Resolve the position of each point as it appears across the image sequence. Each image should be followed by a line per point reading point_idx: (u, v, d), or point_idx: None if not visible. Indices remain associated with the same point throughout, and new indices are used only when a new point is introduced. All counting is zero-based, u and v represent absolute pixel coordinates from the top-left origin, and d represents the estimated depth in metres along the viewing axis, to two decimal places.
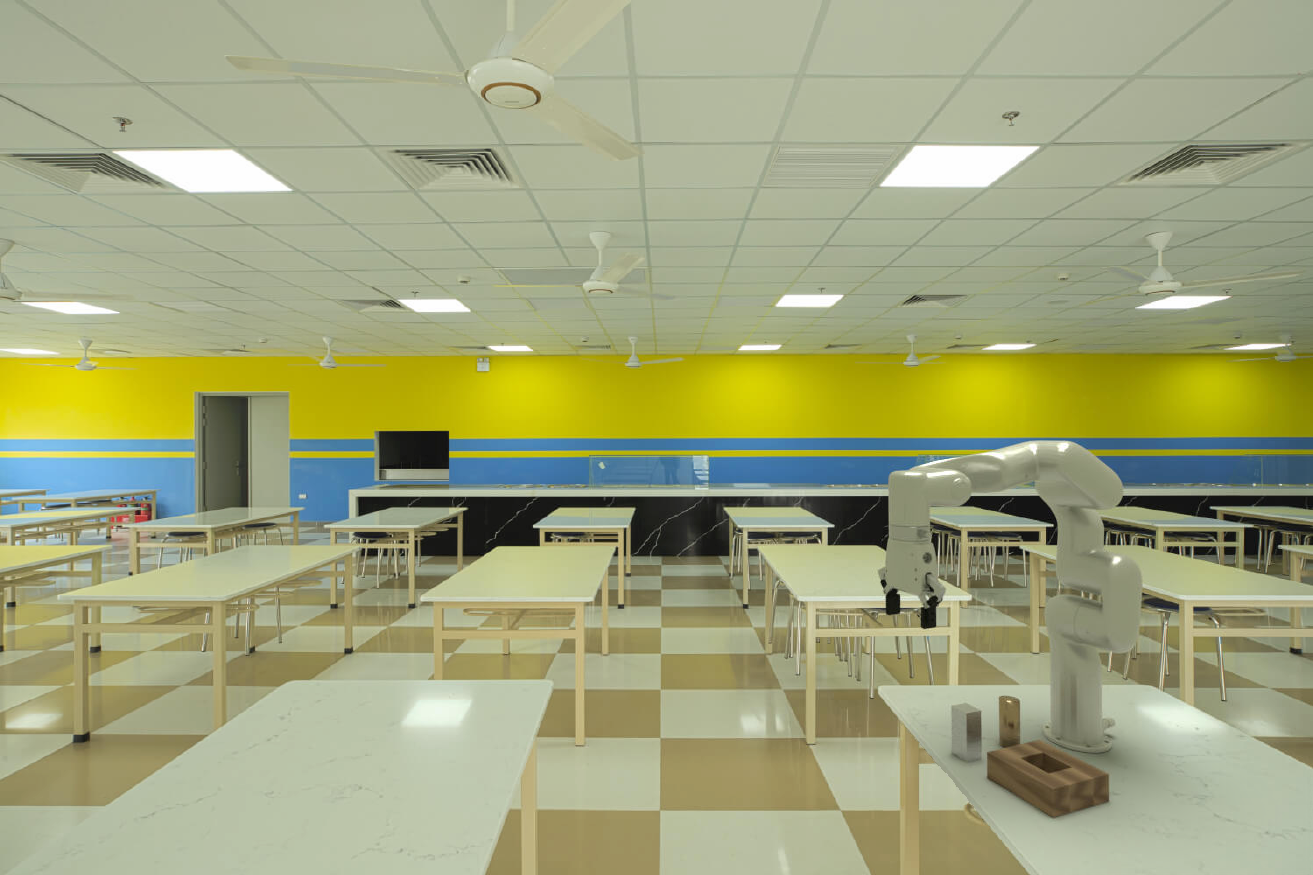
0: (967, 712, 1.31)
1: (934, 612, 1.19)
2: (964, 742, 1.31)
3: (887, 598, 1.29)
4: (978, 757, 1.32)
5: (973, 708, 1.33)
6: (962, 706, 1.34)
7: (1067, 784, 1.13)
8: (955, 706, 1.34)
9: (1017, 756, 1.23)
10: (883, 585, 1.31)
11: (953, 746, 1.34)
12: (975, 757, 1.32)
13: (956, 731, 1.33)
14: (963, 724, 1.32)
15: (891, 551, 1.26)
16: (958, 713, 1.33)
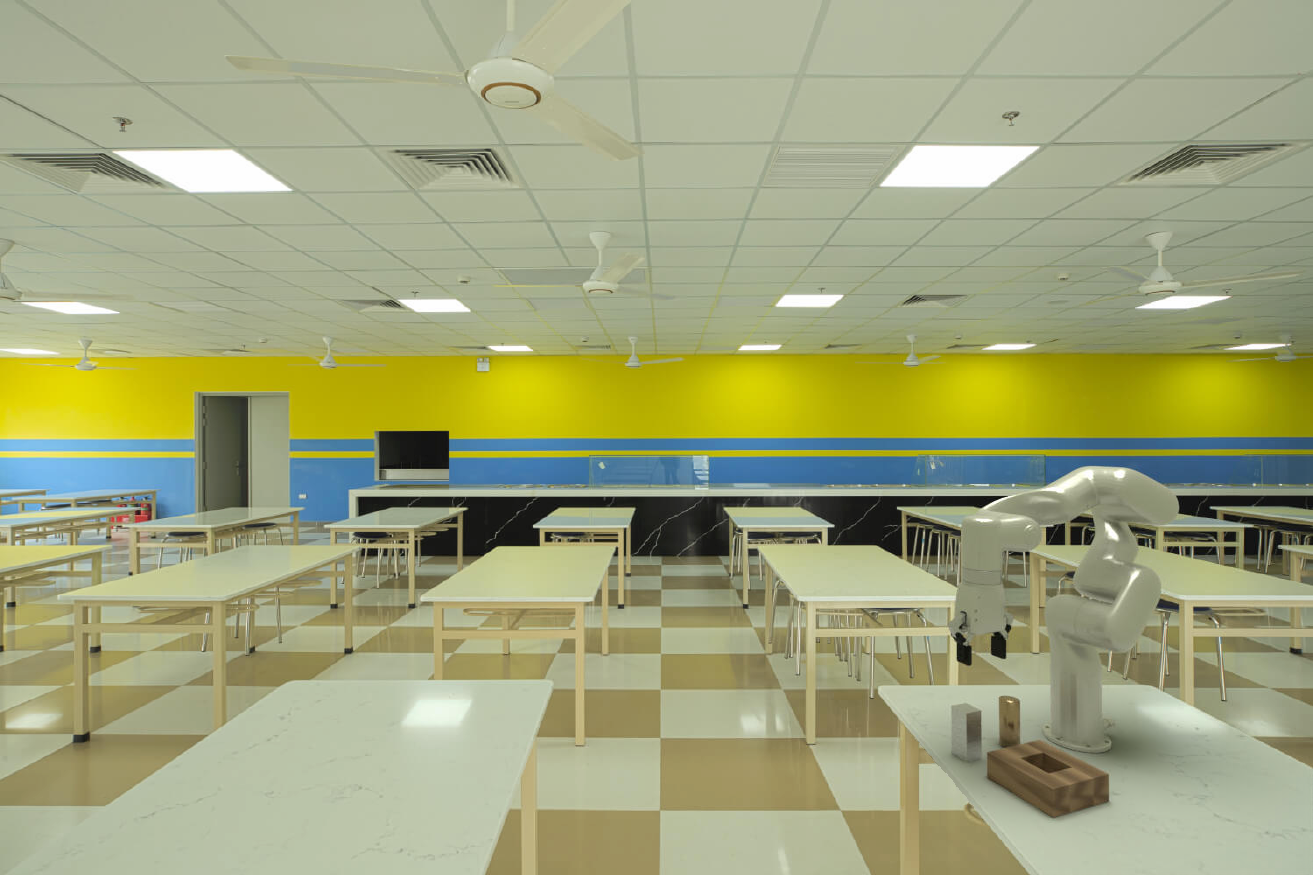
0: (967, 712, 1.31)
1: None
2: (964, 742, 1.31)
3: (971, 648, 1.27)
4: (978, 757, 1.32)
5: (973, 708, 1.33)
6: (962, 706, 1.34)
7: (1067, 784, 1.13)
8: (955, 706, 1.34)
9: (1017, 756, 1.23)
10: (960, 638, 1.27)
11: (953, 746, 1.34)
12: (975, 757, 1.32)
13: (956, 731, 1.33)
14: (963, 724, 1.32)
15: (983, 598, 1.27)
16: (958, 713, 1.33)
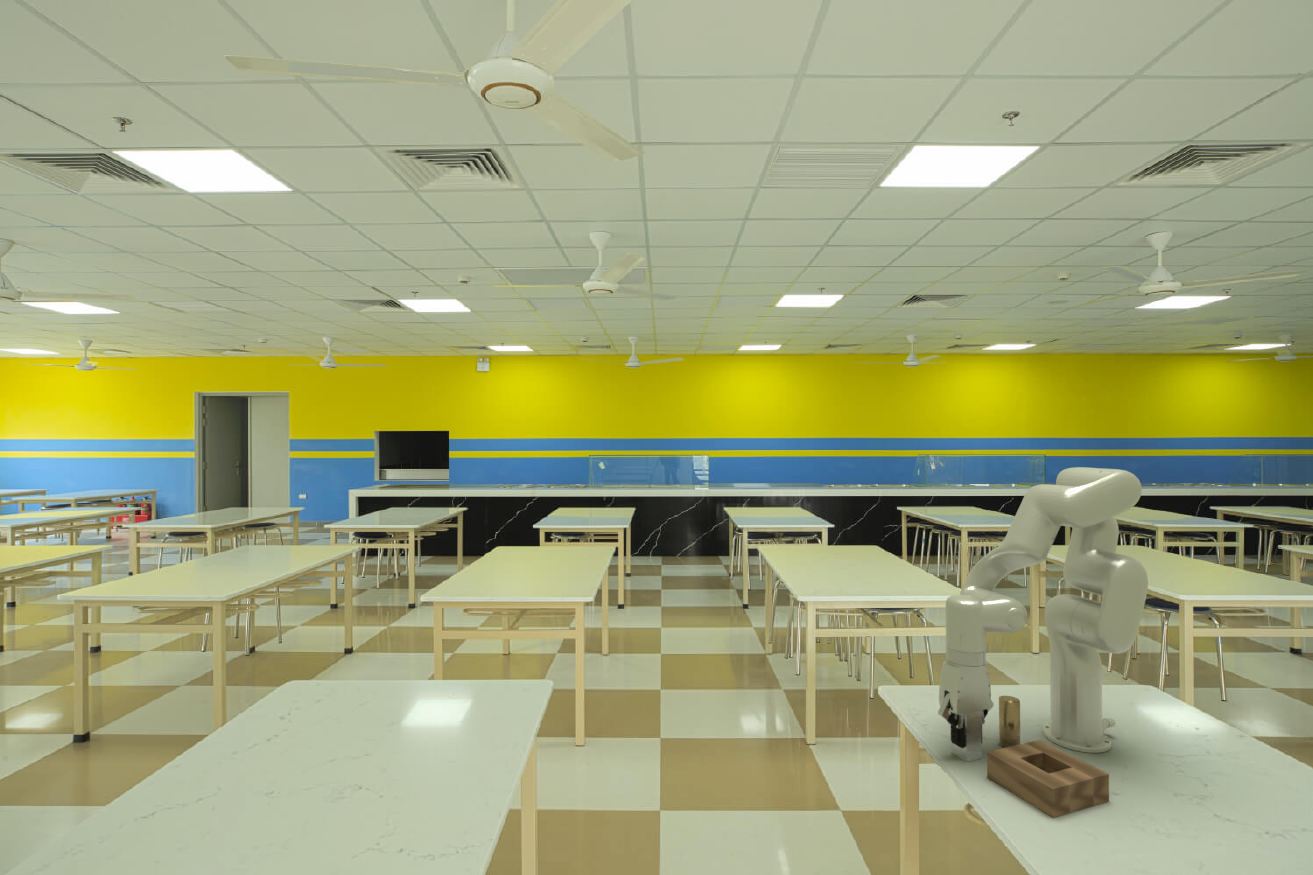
0: None
1: None
2: None
3: (964, 731, 1.31)
4: (978, 757, 1.32)
5: None
6: None
7: (1067, 784, 1.13)
8: None
9: (1017, 756, 1.23)
10: (953, 721, 1.31)
11: (953, 746, 1.34)
12: (975, 757, 1.32)
13: None
14: (963, 724, 1.32)
15: (966, 679, 1.30)
16: None
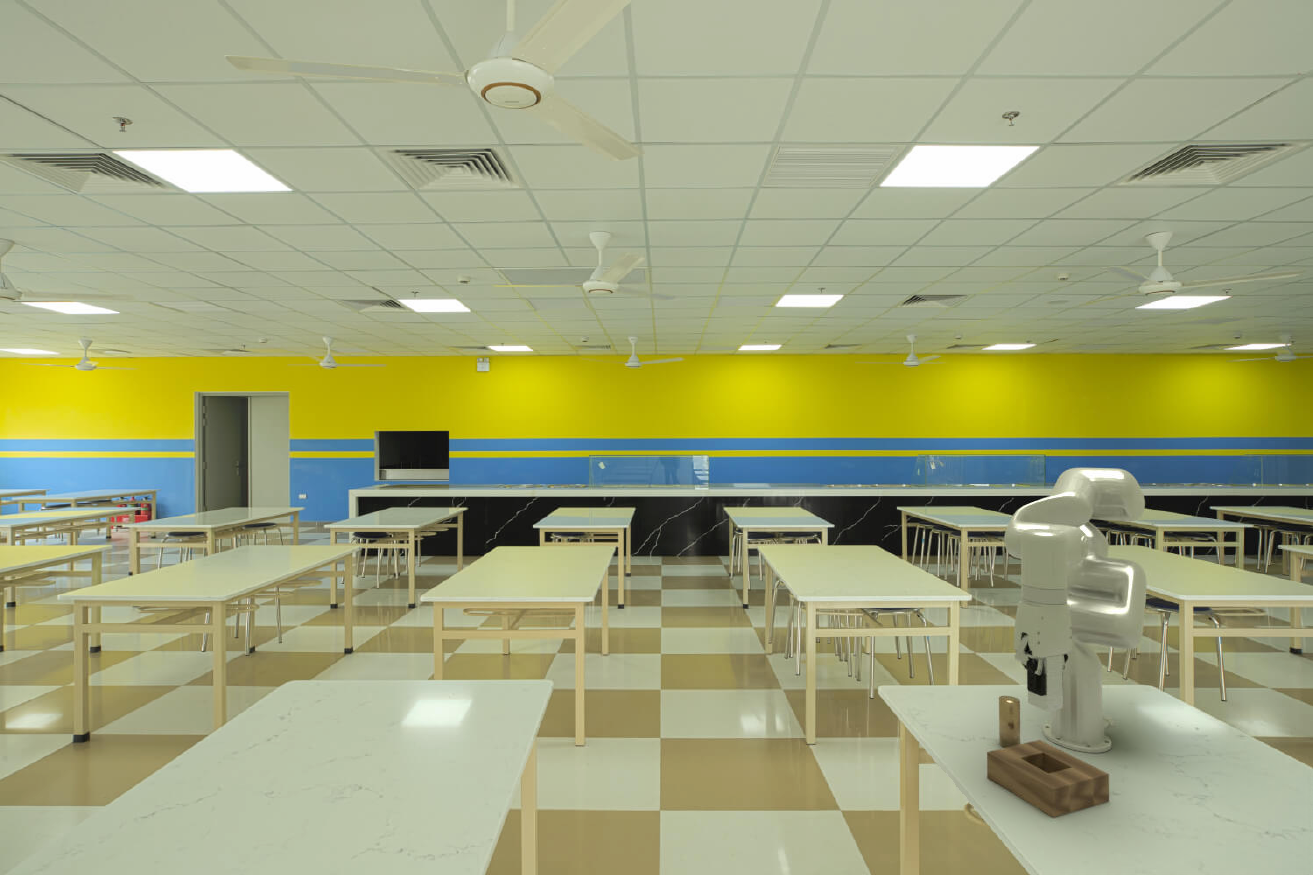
0: None
1: None
2: (1044, 689, 1.18)
3: (1043, 677, 1.18)
4: (1059, 706, 1.19)
5: None
6: None
7: (1067, 784, 1.13)
8: None
9: (1017, 756, 1.23)
10: (1032, 666, 1.18)
11: (1030, 695, 1.21)
12: (1056, 706, 1.19)
13: None
14: (1042, 670, 1.19)
15: (1046, 619, 1.17)
16: None
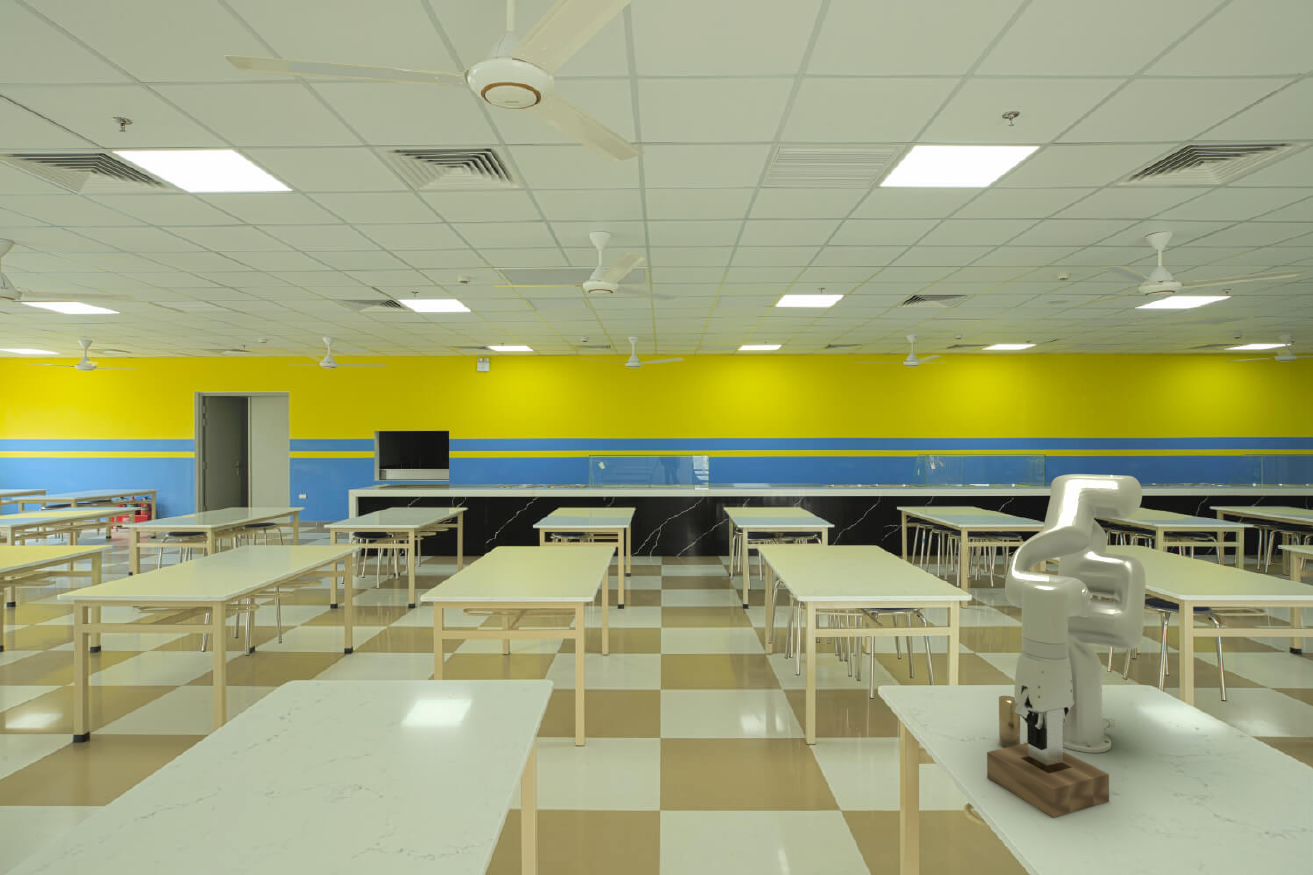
0: None
1: None
2: None
3: (1044, 731, 1.18)
4: (1059, 760, 1.19)
5: None
6: None
7: (1067, 784, 1.13)
8: None
9: (1017, 756, 1.23)
10: (1032, 720, 1.18)
11: (1030, 748, 1.21)
12: (1056, 760, 1.19)
13: None
14: (1042, 723, 1.19)
15: (1047, 673, 1.17)
16: None
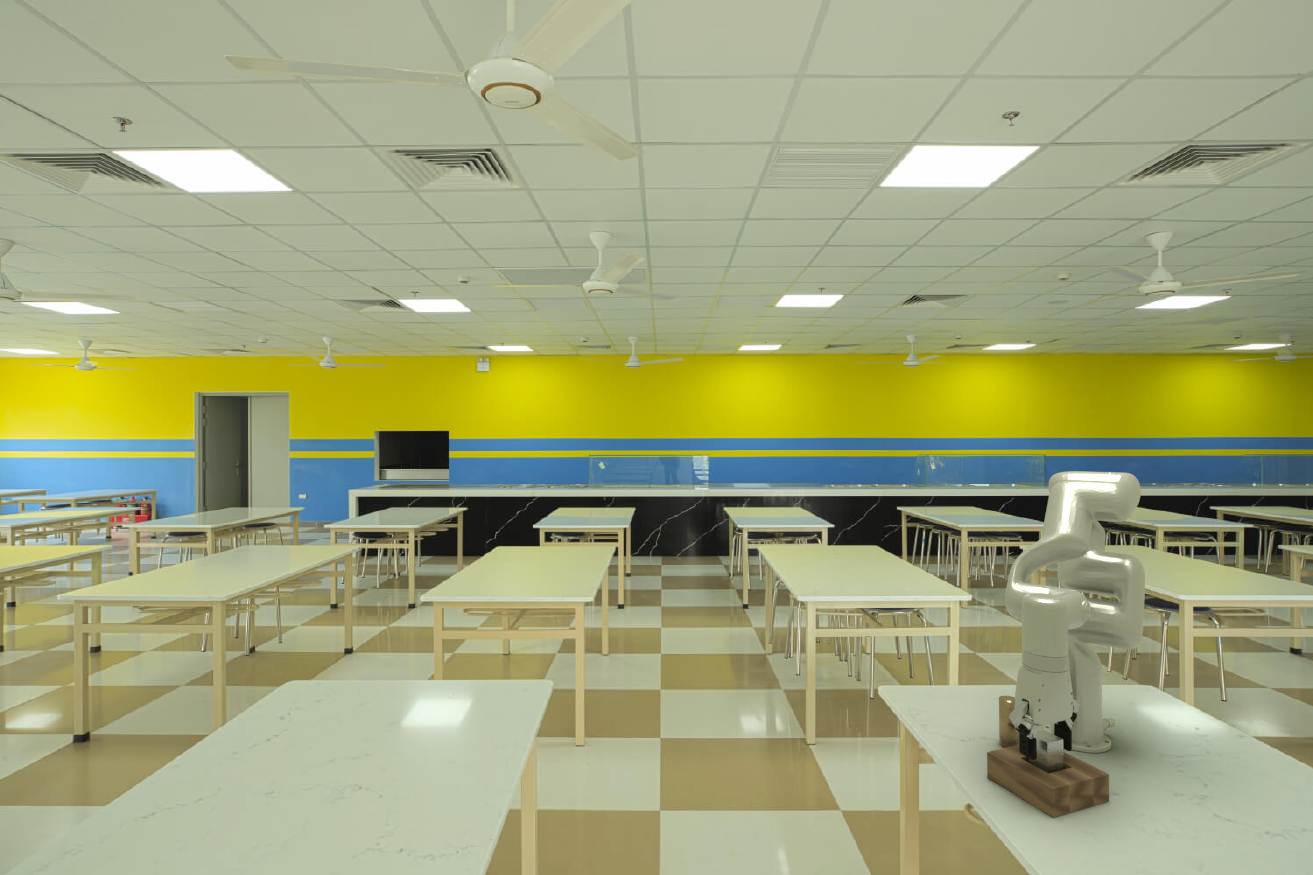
0: (1048, 741, 1.19)
1: None
2: None
3: (1035, 741, 1.18)
4: None
5: (1053, 736, 1.20)
6: (1040, 734, 1.21)
7: (1067, 784, 1.13)
8: None
9: (1017, 756, 1.23)
10: (1024, 730, 1.18)
11: None
12: None
13: (1034, 761, 1.21)
14: (1043, 754, 1.19)
15: (1047, 686, 1.18)
16: (1037, 742, 1.20)
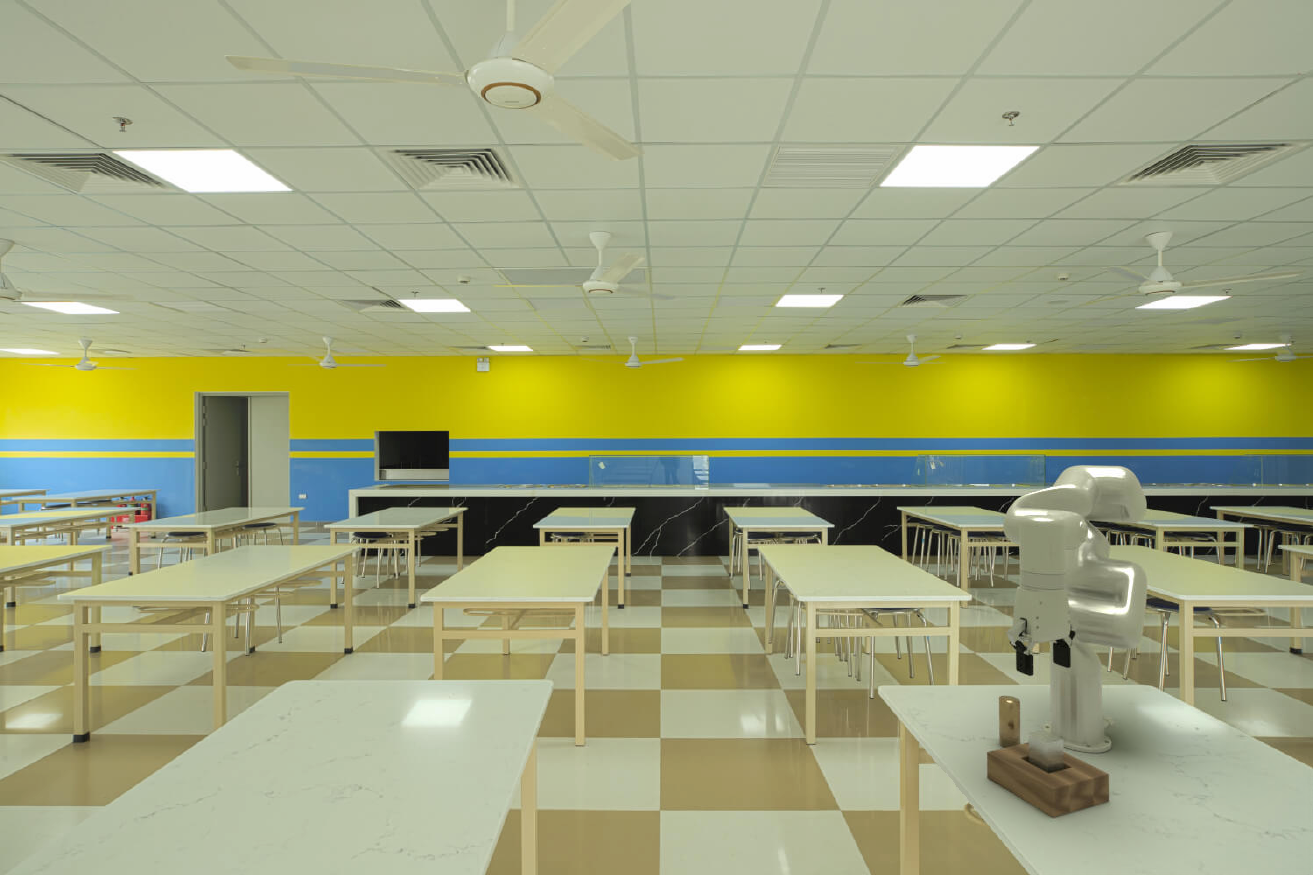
0: (1048, 741, 1.19)
1: None
2: None
3: (1032, 657, 1.18)
4: None
5: (1053, 736, 1.20)
6: (1040, 734, 1.21)
7: (1067, 784, 1.13)
8: (1033, 734, 1.22)
9: (1017, 756, 1.23)
10: (1020, 646, 1.18)
11: None
12: None
13: (1034, 761, 1.21)
14: (1043, 755, 1.19)
15: (1045, 603, 1.18)
16: (1037, 742, 1.20)
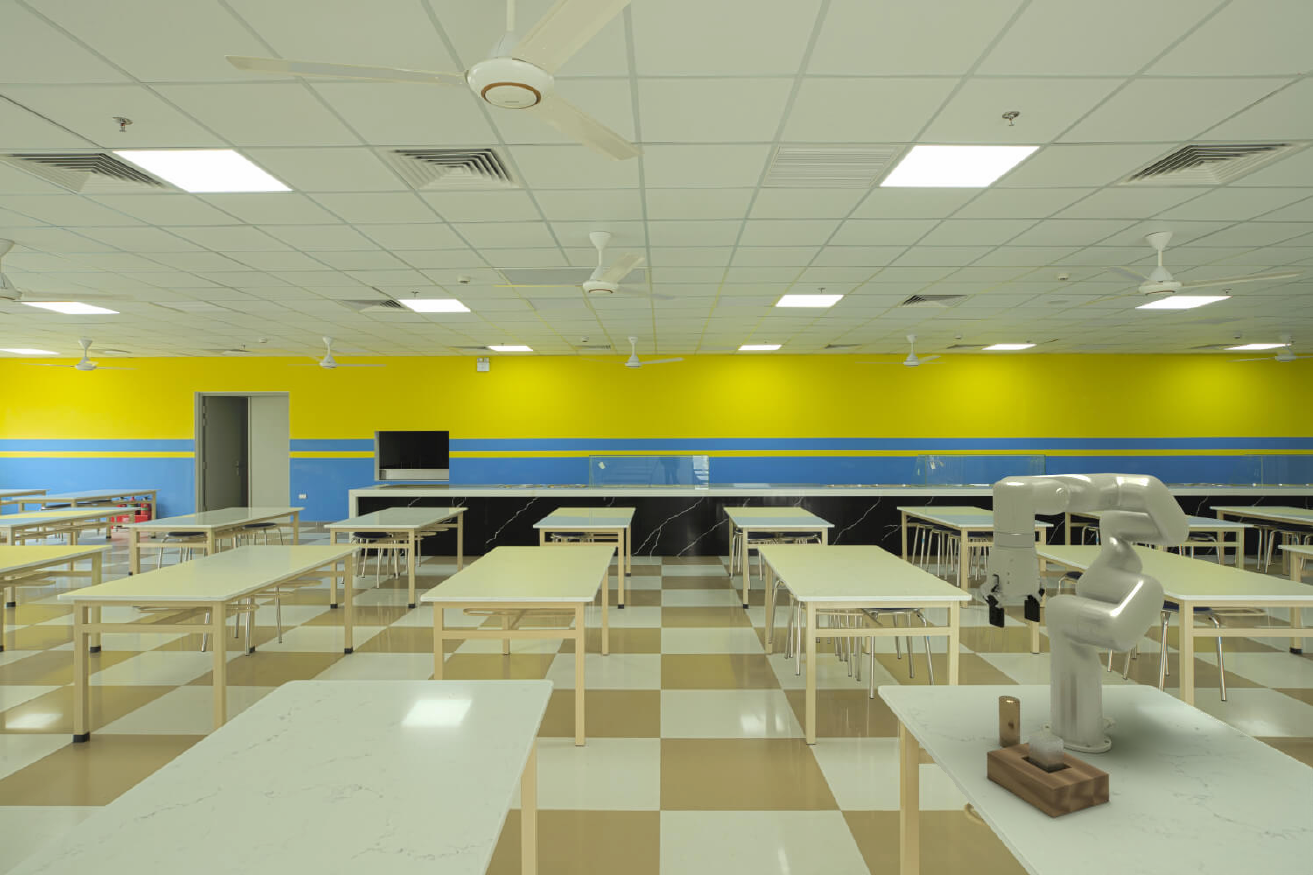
0: (1048, 741, 1.19)
1: None
2: None
3: (1003, 610, 1.28)
4: None
5: (1053, 736, 1.20)
6: (1040, 734, 1.21)
7: (1067, 784, 1.13)
8: (1033, 734, 1.22)
9: (1017, 756, 1.23)
10: (992, 600, 1.28)
11: None
12: None
13: (1034, 761, 1.21)
14: (1043, 754, 1.19)
15: (1015, 561, 1.28)
16: (1037, 742, 1.20)
